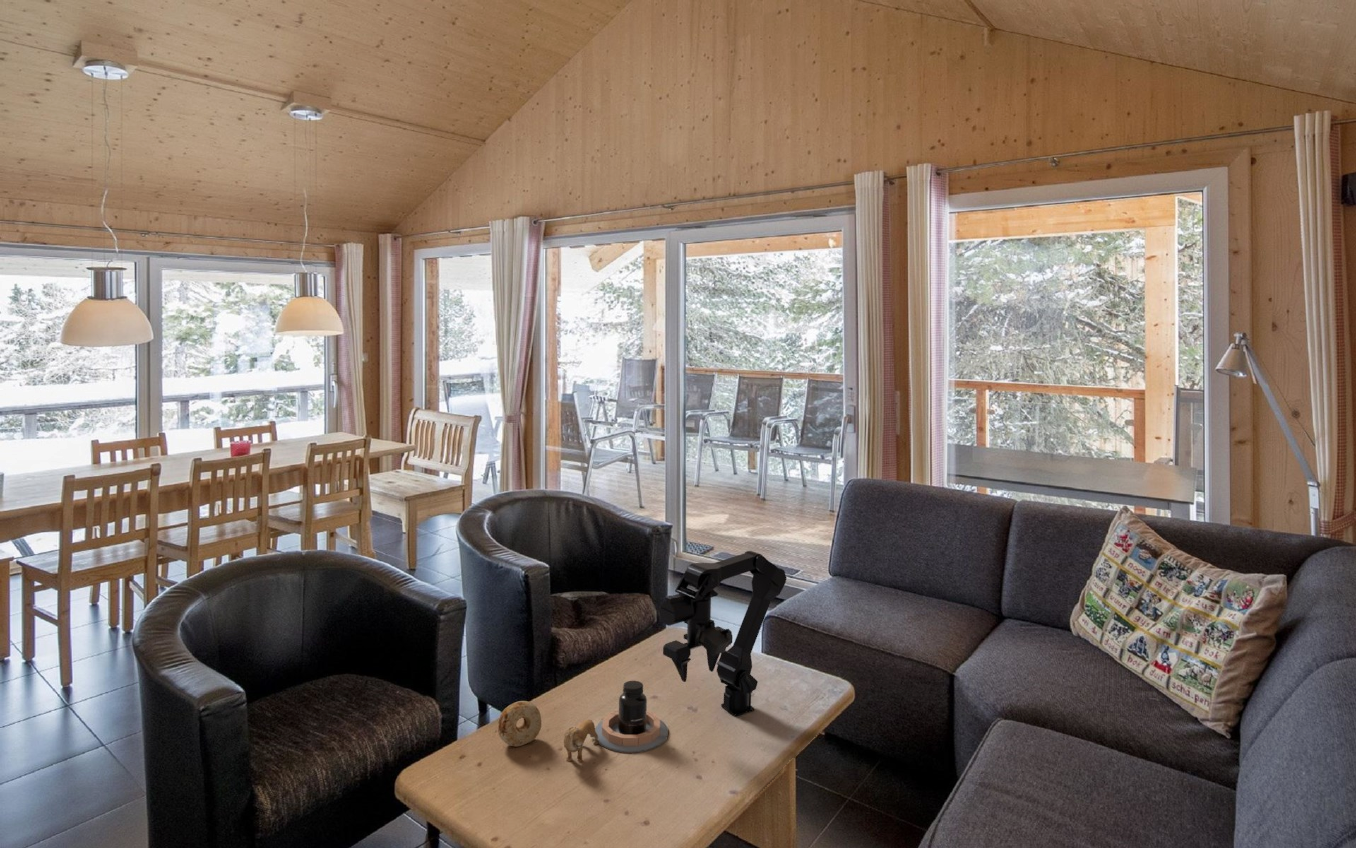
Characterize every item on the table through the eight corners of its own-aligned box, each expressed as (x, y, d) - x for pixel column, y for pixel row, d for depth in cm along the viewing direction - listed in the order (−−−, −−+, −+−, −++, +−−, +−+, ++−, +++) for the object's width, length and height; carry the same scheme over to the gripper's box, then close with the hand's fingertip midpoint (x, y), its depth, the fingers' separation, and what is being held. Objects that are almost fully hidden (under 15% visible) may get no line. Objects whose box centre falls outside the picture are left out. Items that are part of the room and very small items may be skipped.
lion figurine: (581, 772, 179) (581, 734, 178) (559, 769, 181) (559, 731, 179) (601, 739, 194) (601, 703, 193) (580, 736, 195) (580, 701, 194)
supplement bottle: (636, 741, 192) (636, 693, 190) (612, 733, 195) (613, 686, 194) (651, 729, 197) (652, 682, 196) (629, 721, 201) (629, 676, 199)
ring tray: (645, 708, 209) (645, 699, 208) (681, 740, 194) (681, 730, 193) (582, 726, 199) (582, 716, 199) (615, 760, 184) (615, 750, 184)
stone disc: (502, 753, 187) (502, 712, 185) (497, 746, 190) (496, 706, 188) (544, 741, 192) (543, 701, 191) (538, 734, 195) (537, 695, 194)
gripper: (693, 635, 185) (692, 699, 187) (749, 616, 197) (747, 676, 199) (661, 621, 193) (661, 682, 195) (717, 604, 205) (716, 662, 207)
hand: (697, 676), depth 199 cm, fingers open, 9 cm apart
